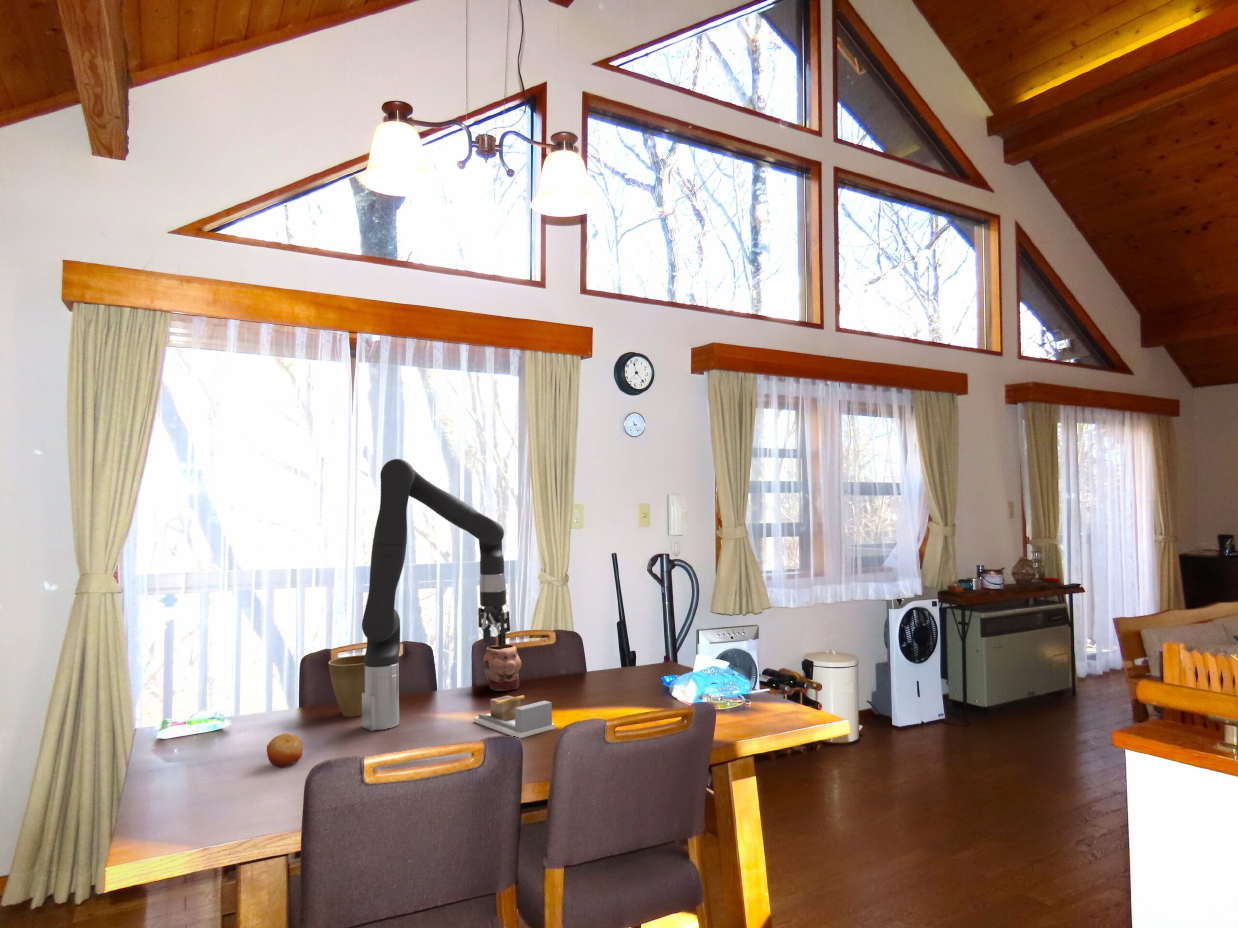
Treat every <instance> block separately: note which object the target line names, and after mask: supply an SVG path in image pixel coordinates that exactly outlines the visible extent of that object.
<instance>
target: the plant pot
mask: <svg viewBox="0 0 1238 928" xmlns="http://www.w3.org/2000/svg"><path fill="white" fill-rule="evenodd" d="M364 657H365V654H364V655H363V654H361V655H351V656H345V657H344V656H343V657H339V658H338V657H337V658H334V659H331V660H329V661H328V669H329V674H330V675H329V676H330V680H331V683H332V684H331V685H332V688H333V691H334V695H335V698H336V701H337V703H338V707H339V709H340V712H341V714H342V716H344V717H347V718H348V717H349V718H350V717H352V718H353V717H362V692H365V665H364Z"/></svg>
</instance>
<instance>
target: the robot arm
mask: <svg viewBox="0 0 1238 928" xmlns="http://www.w3.org/2000/svg"><path fill="white" fill-rule="evenodd" d="M379 476H380V503H379V509H378V510H379V511H378V515H377V517H376V518H377V519H376V521H375V522H376V523H375V529H374V531H373V532H374V533H373V538H372V547H371V555H370V569H369V583H368V584H369V586H368V594H367V600H366V604H365V608H364V611H363V612H364V613H363V616H362V617H363V618H362V621H361V628H362V633H363V635H364V636H365V638H366V649H365V653H364V655H365V657H364V665H365V692H362V715H361V727H362V728H364V729H367V730H369V731H371V732H372V731H378V730H379V731H381V730H387V729H388V728H389V729H393V728H395V727H398V725H399V724H400V699H399V698H400V692H399V691H400V687H399V686H400V685H399V684H400V681H399V676H400V672H399V657H400V650H401V649H400V647H401V619H400V616H399V613H398V611H397V610H396V609H395V603H396V601H395V600H396V592H397V589H398V585H399V581H400V579H401V575H402V571H403V569H404V564H405V559H406V550H407V541H408V522H407V521H408V520H407V519H408V518H407V511H408V510H407V509H408V502H409V498H410V497H411V498H412V499H415V500H417V501H418V502H420V503H422V504H423V505H425V506H426V507H427V508H429V509H430V510H431V511H433V512H435V514H437V515H439V516H440V517H441V518H443V519H444V520H446V521H448V522H449V523H451V524H452V525H454V526H456V527H458V528H459V529H462V530H463V531H465V532H467V533H469V535H472V536H473V537H474V538H476V539H477V540H478V546H479V554H480V558H479V559H480V560H479V561H480V562H479V573H480V575H479V600H480V601H479V605H480V606H481V607H478V612H477V613H478V620H477V621H478V626H477V627H478V628H480V629H481V631H482V639H483V641H482V643H484V644H490V643H492V634H491V633H492V631H491V629H492V626H493V629H495V630H496V632H497V645H498V647H505V646H506V645H507V642H506V640H507V638H506V637H507V636H506V634H507V633H510V632H511V622H510V621H511V620H510V619H511V618H510V612H509V610H503V606H505V605H506V604H507V589H506V588H507V587H506V584H507V583H506V576H505V561H504V555H503V539H504V536H505V531H504V528H503V526H502V524H500V523H499V522H497V521H496V520H493V519H492V518H490V517H488V516H486V515H484V514H482V513H481V512H479V511H478V510H476V509H475V508H474V507H473V506H471V505H469V504H468V503H466V502H465V501H463V500H462V499H460V498H458V497H456V496H455V495H452V494H451V493H449V492H448V491H445V490H443V489H442V488H439V487H438V486H436V485H435V484H433V483H431V482H430V481H428V480H427V479H426V478H424V476H422V475H421V474H420V473H418V472H417V471H416V470H415V469H414V468H413V466H412V465H411V464H410V463H409V462H408V461H406V460H404V459H401V458H393V459H391V460H389V461H387V462H386V463H385V464H384V465H383V466H382V467H381V470H380V475H379Z"/></svg>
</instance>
